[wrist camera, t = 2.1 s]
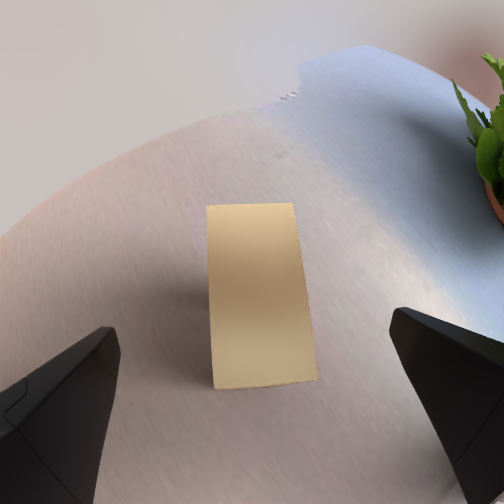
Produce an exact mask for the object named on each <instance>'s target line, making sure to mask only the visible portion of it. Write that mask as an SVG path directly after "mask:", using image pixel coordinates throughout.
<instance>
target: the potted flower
mask: <svg viewBox="0 0 504 504" xmlns="http://www.w3.org/2000/svg"><path fill="white" fill-rule="evenodd" d="M485 55H486V57H485V56H483V55H481V57H482V58H483V59H484V60H485V61H486V62H487V63H488V64H489V65H490V66H491V67H492V68H493V69H494V70H495V72H496V73H497V74H498V76H499V77H500V79H501V80H502V87H503V90H504V62H503V60H502V59H501V58H498V59H497V63H498V64H497V63H496V61H495V59H494V58H492V57H491V56H490V55H489V54H488V53H487V52H485ZM452 82H453V86H454V89H455V93H456V95H457V98H458V100H459V103H460V105H461V107H462V109H463V110H464V112H465V114H466V117H467V125H468V127H469V129H470V131H471V133H472V135H473V137H474V139H475V141H476V143H474V142H473V141H472V139H471V140H470V138H468V137H467V139H468V140H469V142H470V143H471V144H472V145H473V146H474V147H475V148H476V164H477V169H478V171H479V173H480V175H481V176H482V178H483V179H484V180H485V188H486V193H487V197H488V199H489V201H490V203H491V206H492V208H493V210H494V212H495V213H496V215H497V217H498V218H499V220H500V221H501V222H502V223H503V225H504V95H500V102H499V104H500V105H501V107H500V106H496V110H494V113H493V112H492V111H491V110H490V114H491V118H490V121H491V123H492V125H491V123H490V122H489V123H488V119H486V116H485V114H484V112H482V113H481V112H480V111H479V110H478V109H476V112H477V114H478V115H479V117H480V118H481V120H482V121H483V123H484V125H485V127H486V128H483V127H482V126H481V123H479V120H478V119H477V117H476V115H475V114H474V112H472V111H470V109H469V107H468V105H467V101H466V99H465V98H464V99H463V97H462V94H461V92H460V91H459V90H458V89H457V86H456V84H455V83H454V81H453V79H452Z"/></svg>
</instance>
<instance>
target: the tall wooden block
mask: <svg viewBox="0 0 504 504" xmlns="http://www.w3.org/2000/svg"><path fill="white" fill-rule="evenodd" d="M207 252H208V286H209V311H210V332H211V350H212V367H213V382H214V389H216V390H221V391H224V390H241V389H254V388H266V387H275V386H282V385H288V384H294V383H300V382H306V381H312V380H317V379H318V371H317V363H316V354H315V346H314V339H313V331H312V323H311V316H310V309H309V302H308V295H307V288H306V282H305V275H304V269H303V262H302V256H301V250H300V244H299V238H298V232H297V226H296V220H295V214H294V209H293V203H270V204H232V205H207Z"/></svg>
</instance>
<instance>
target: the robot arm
mask: <svg viewBox="0 0 504 504" xmlns="http://www.w3.org/2000/svg"><path fill="white" fill-rule="evenodd" d="M389 334H390V337H391V339H392V342H393V344H394V346H395V349H396V351H397V354H398V356H399V358H400V361H401V363H402V366H403V368H404V370H405V372H406V374H407V376H408V378H409V380H410V382H411V384H412V385H413V387H414V389H415V391H416V393H417V395H418V397H419V399H420V401H421V403H422V405H423V407H424V409H425V411H426V413H427V415H428V417H429V419H430V421H431V423H432V425H433V427H434V429H435V431H436V433H437V435H438V437H439V439H440V441H441V443H442V446H443V448H444V450H445V452H446V454H447V456H448V459H449V461H450V463H451V465H452V467H453V470H454V472H455V475H456V477H457V479H458V482H459V484H460V486H461V489H462V491H463V494H464V496H465V498H466V501H467V503H468V504H494V503H496V502H497V501H498V500H500V499H501V498H503V497H504V343H502V342H500V341H497V340H494V339H491V338H487V337H486V336H483V335H481V334H478V333H475V332H472V331H470V330H467V329H464V328H462V327H459V326H456V325H454V324H451V323H448V322H446V321H443V320H440V319H437V318H435V317H432V316H429V315H427V314H424V313H421V312H419V311H416V310H413V309H411V308H408V307H400V308H396V309H395V310H394V312H393V316H392V320H391V324H390V329H389ZM120 356H121V351H120V346H119V343H118V339H117V335H116V331H115V329H114V328H113V327H100V328H98V329H97V330H95V331H94V332H92V333H91V334H89V335H88V336H86V337H85V338H83V339H82V340H80V341H78V342H77V343H75V344H74V345H72V346H71V347H69V348H68V349H66V350H65V351H63V352H62V353H60V354H59V355H57V356H56V357H54V358H53V359H51V360H50V361H48V362H47V363H45V364H44V365H42V366H41V367H39V368H38V369H36V370H35V371H33V372H32V373H30V374H29V375H27V377H24V378H23V379H21V380H20V381H18V382H17V383H15V384H14V385H12V386H11V387H9V388H7V389H6V390H4V391H2V392H1V393H0V504H93V500H94V494H95V488H96V482H97V476H98V471H99V465H100V460H101V455H102V450H103V445H104V441H105V436H106V431H107V427H108V423H109V418H110V414H111V410H112V406H113V402H114V397H115V391H116V384H117V377H118V369H119V363H120Z"/></svg>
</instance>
